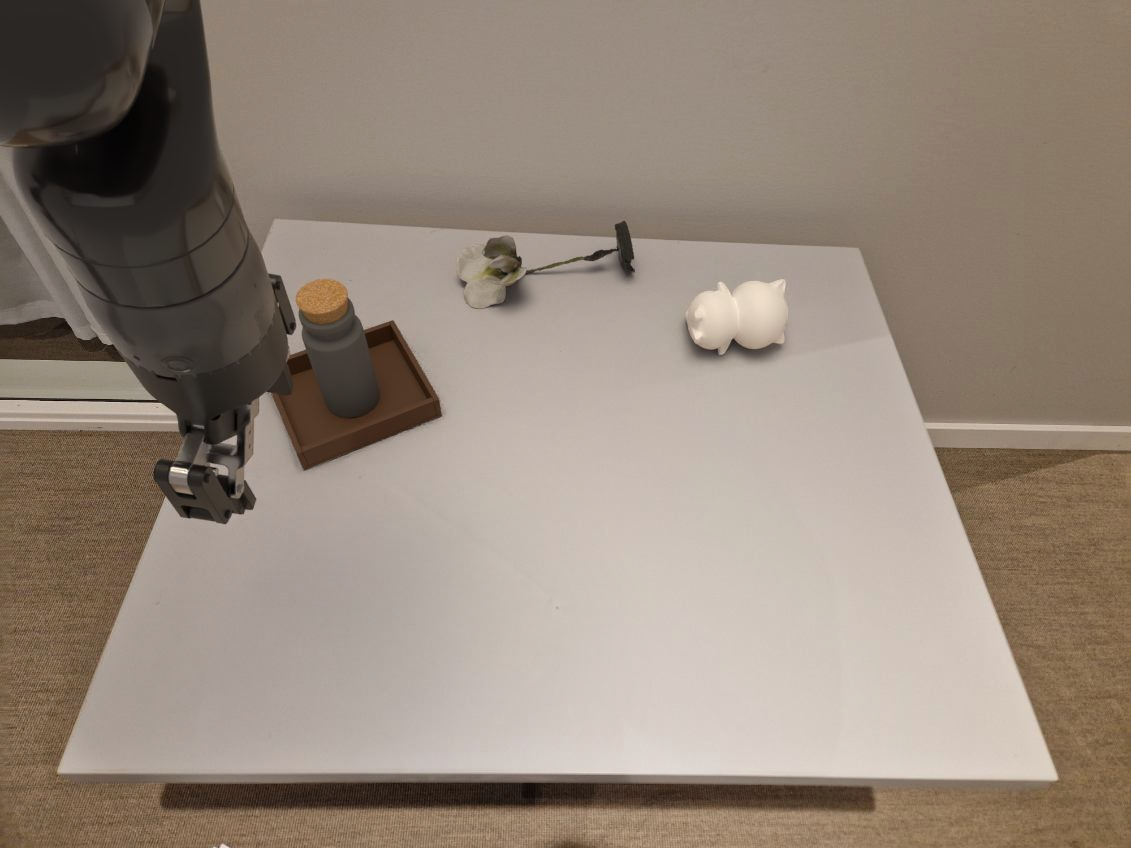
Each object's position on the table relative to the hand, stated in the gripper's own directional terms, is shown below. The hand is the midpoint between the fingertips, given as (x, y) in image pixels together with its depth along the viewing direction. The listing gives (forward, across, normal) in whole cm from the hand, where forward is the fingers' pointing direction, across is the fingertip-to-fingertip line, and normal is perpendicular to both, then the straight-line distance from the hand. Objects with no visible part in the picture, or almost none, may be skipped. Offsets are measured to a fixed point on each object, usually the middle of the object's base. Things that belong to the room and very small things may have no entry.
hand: (259, 444), depth 49 cm
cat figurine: (+23, -33, +41) cm, 58 cm away
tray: (+26, -18, 0) cm, 31 cm away
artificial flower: (+27, -39, +19) cm, 51 cm away
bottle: (+26, -17, 0) cm, 31 cm away
